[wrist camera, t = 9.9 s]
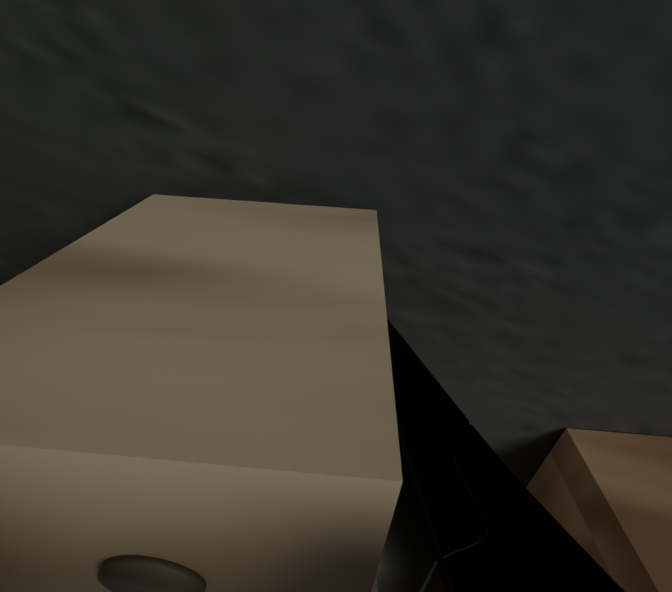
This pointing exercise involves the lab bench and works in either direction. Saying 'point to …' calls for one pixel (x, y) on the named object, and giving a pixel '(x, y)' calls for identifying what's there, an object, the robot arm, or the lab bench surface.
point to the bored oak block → (614, 502)
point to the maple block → (199, 404)
